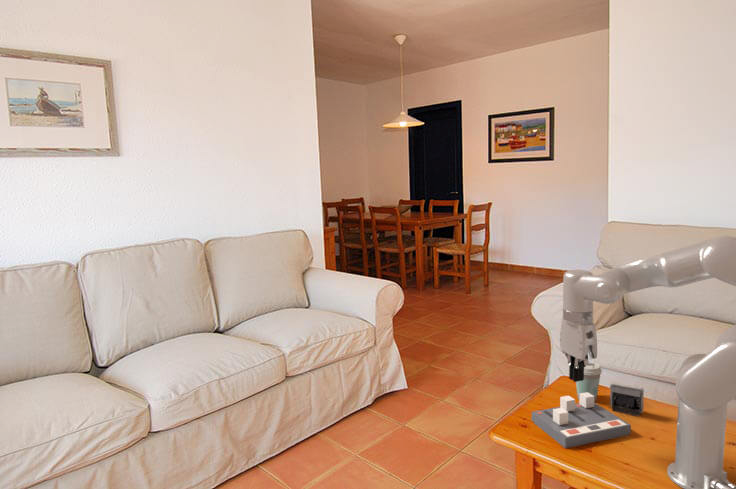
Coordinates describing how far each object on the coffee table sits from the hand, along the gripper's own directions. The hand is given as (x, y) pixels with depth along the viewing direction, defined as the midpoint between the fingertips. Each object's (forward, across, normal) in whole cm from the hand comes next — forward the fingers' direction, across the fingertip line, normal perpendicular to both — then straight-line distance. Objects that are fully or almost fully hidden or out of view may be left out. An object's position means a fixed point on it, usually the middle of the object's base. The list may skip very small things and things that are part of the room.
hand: (576, 379), depth 132 cm
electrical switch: (+19, +10, -27) cm, 35 cm away
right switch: (+16, +12, -14) cm, 25 cm away
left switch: (+16, +6, 0) cm, 17 cm away
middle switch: (+16, +12, -7) cm, 21 cm away
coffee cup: (+19, +22, -22) cm, 37 cm away
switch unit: (+19, +7, -7) cm, 22 cm away
